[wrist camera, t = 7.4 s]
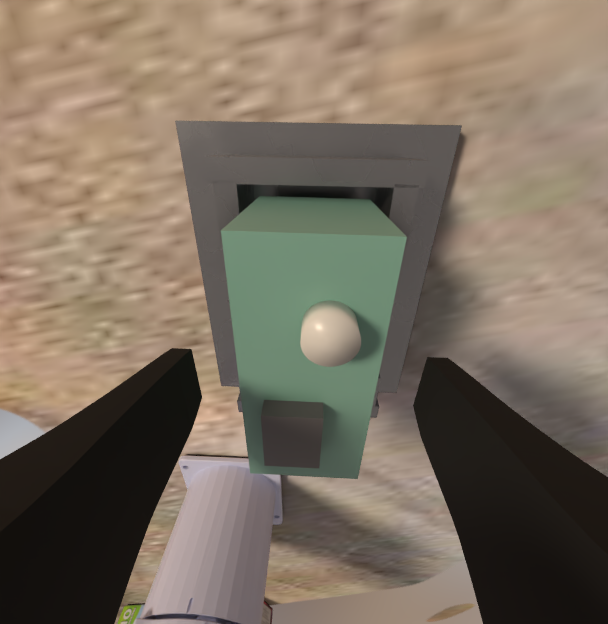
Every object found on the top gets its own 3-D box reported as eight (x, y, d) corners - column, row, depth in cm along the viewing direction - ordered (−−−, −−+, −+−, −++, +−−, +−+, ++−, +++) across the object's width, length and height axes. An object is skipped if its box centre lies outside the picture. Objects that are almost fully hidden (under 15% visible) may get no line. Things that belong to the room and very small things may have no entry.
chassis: (394, 385, 18) (409, 433, 15) (224, 379, 19) (206, 424, 16) (455, 126, 11) (505, 119, 8) (181, 121, 12) (134, 113, 9)
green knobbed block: (345, 382, 15) (360, 501, 10) (269, 379, 15) (245, 495, 10) (369, 199, 10) (418, 248, 5) (260, 195, 11) (208, 240, 6)
